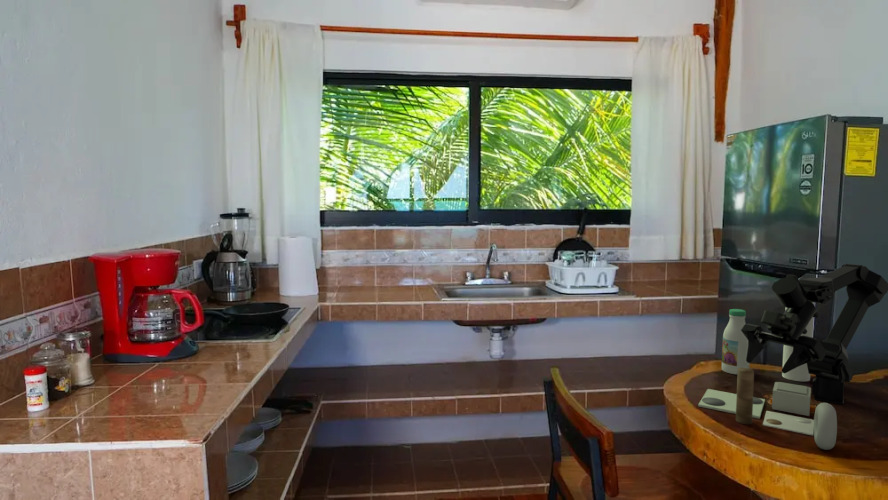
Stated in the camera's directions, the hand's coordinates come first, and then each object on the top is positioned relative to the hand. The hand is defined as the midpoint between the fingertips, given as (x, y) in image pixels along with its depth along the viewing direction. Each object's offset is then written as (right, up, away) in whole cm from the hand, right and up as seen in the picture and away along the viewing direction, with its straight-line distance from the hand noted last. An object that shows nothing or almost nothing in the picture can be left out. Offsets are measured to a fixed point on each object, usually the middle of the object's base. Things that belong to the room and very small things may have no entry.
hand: (764, 366), depth 130 cm
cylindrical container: (+28, -10, +30) cm, 42 cm away
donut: (+3, -14, -16) cm, 22 cm away
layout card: (+4, -13, -3) cm, 14 cm away
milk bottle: (+13, -10, +36) cm, 40 cm away
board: (-3, -12, +9) cm, 16 cm away
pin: (-6, -13, -2) cm, 15 cm away
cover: (+11, -12, +7) cm, 18 cm away
